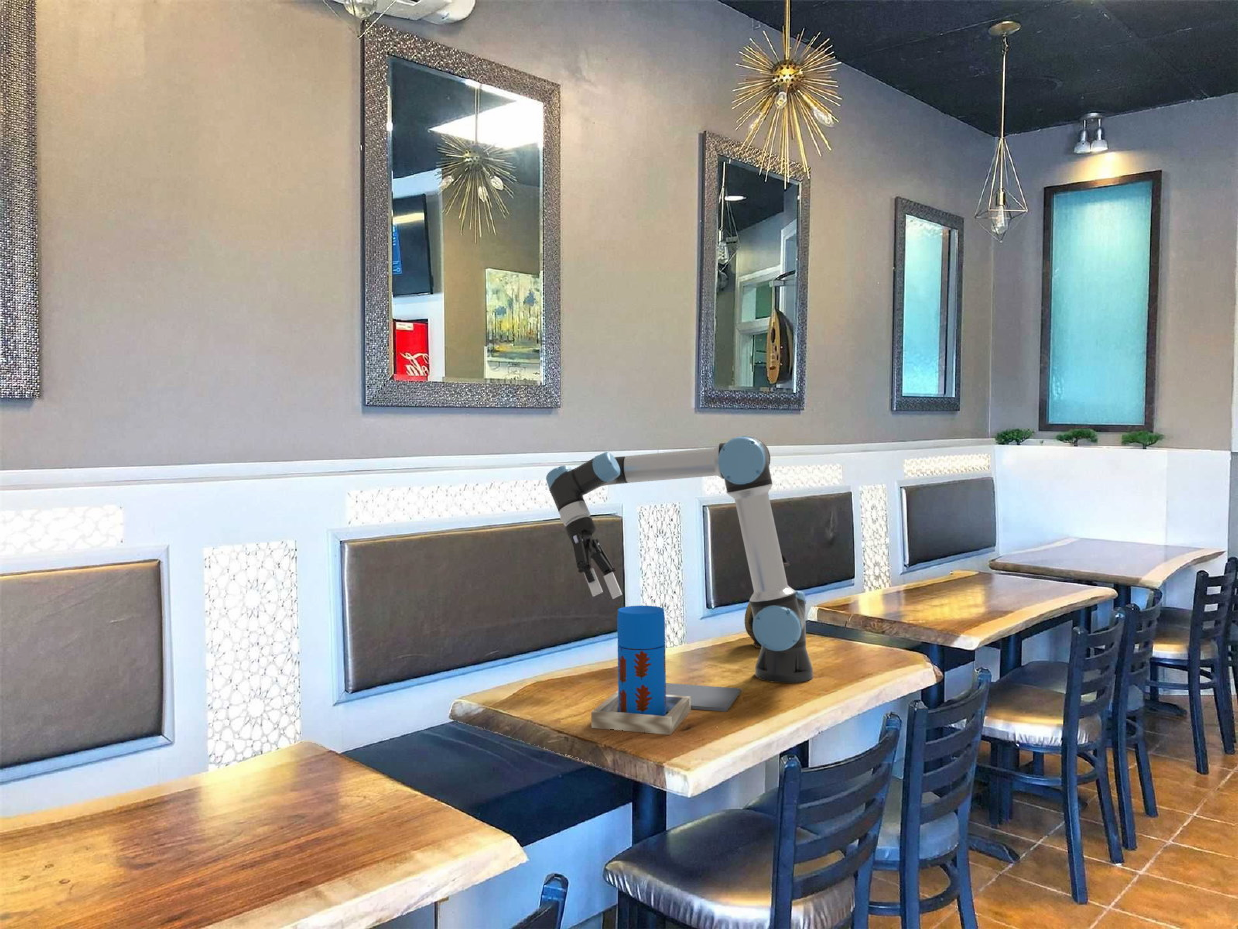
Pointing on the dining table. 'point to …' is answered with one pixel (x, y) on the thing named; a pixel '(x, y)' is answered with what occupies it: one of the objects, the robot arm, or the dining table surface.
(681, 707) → the wooden collar
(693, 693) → the rubber mat
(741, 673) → the dining table surface
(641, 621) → the thermos
